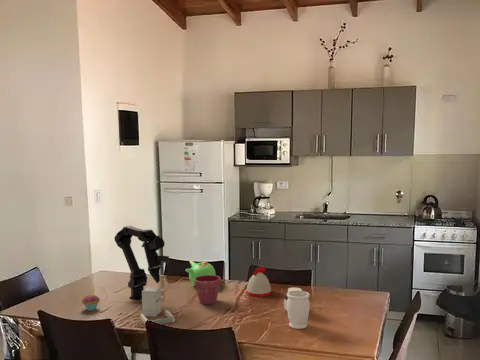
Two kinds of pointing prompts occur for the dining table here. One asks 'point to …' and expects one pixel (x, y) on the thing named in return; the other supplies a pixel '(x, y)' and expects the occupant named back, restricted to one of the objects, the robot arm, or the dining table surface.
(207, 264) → the toy bird
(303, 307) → the jar
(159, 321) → the bay
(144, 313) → the supplement box
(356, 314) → the dining table surface
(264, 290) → the chicken egg cooker
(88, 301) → the cupcake
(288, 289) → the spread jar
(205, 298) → the plant pot
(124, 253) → the robot arm
